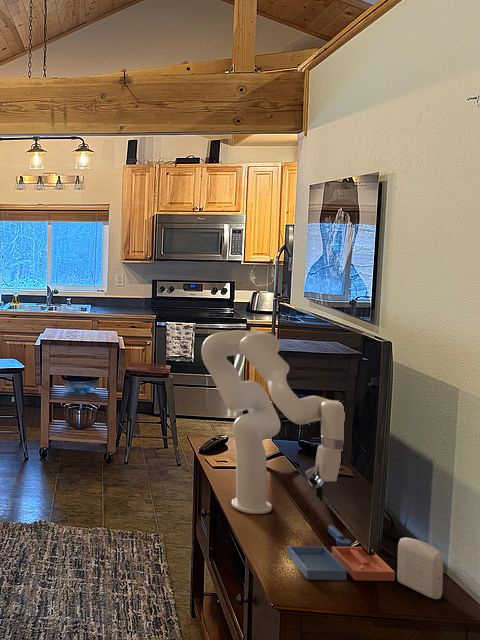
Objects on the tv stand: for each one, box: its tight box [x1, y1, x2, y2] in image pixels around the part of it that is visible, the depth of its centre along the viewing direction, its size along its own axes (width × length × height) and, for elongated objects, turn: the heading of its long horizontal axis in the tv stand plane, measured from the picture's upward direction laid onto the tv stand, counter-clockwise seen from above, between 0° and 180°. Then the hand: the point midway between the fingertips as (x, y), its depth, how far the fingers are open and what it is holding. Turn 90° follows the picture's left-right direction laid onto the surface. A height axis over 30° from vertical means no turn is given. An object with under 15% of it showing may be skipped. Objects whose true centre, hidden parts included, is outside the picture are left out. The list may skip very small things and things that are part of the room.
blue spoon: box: [327, 524, 352, 547], centre depth 193 cm, size 11×4×2 cm, turn 175°
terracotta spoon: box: [350, 549, 377, 571], centre depth 176 cm, size 11×4×2 cm, turn 175°
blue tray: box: [287, 545, 348, 581], centre depth 177 cm, size 14×10×2 cm
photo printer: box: [396, 537, 444, 600], centre depth 164 cm, size 10×4×12 cm, turn 23°
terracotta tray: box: [331, 546, 396, 582], centre depth 176 cm, size 14×10×2 cm
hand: (335, 499), depth 194 cm, fingers open, 9 cm apart
